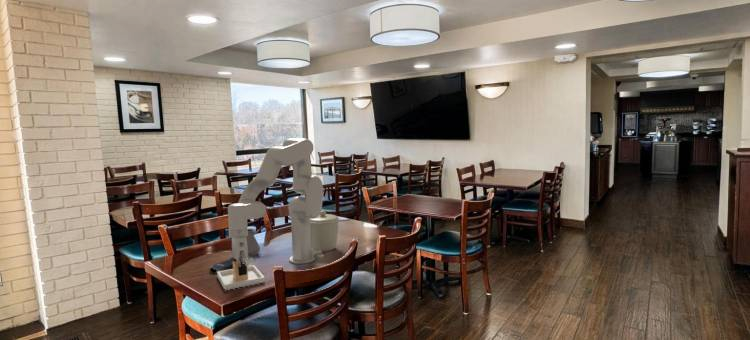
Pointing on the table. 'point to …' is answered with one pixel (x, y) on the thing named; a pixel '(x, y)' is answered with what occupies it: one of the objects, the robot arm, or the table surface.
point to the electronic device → (223, 265)
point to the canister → (324, 231)
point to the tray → (230, 283)
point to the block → (236, 272)
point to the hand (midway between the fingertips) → (240, 271)
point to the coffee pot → (253, 241)
